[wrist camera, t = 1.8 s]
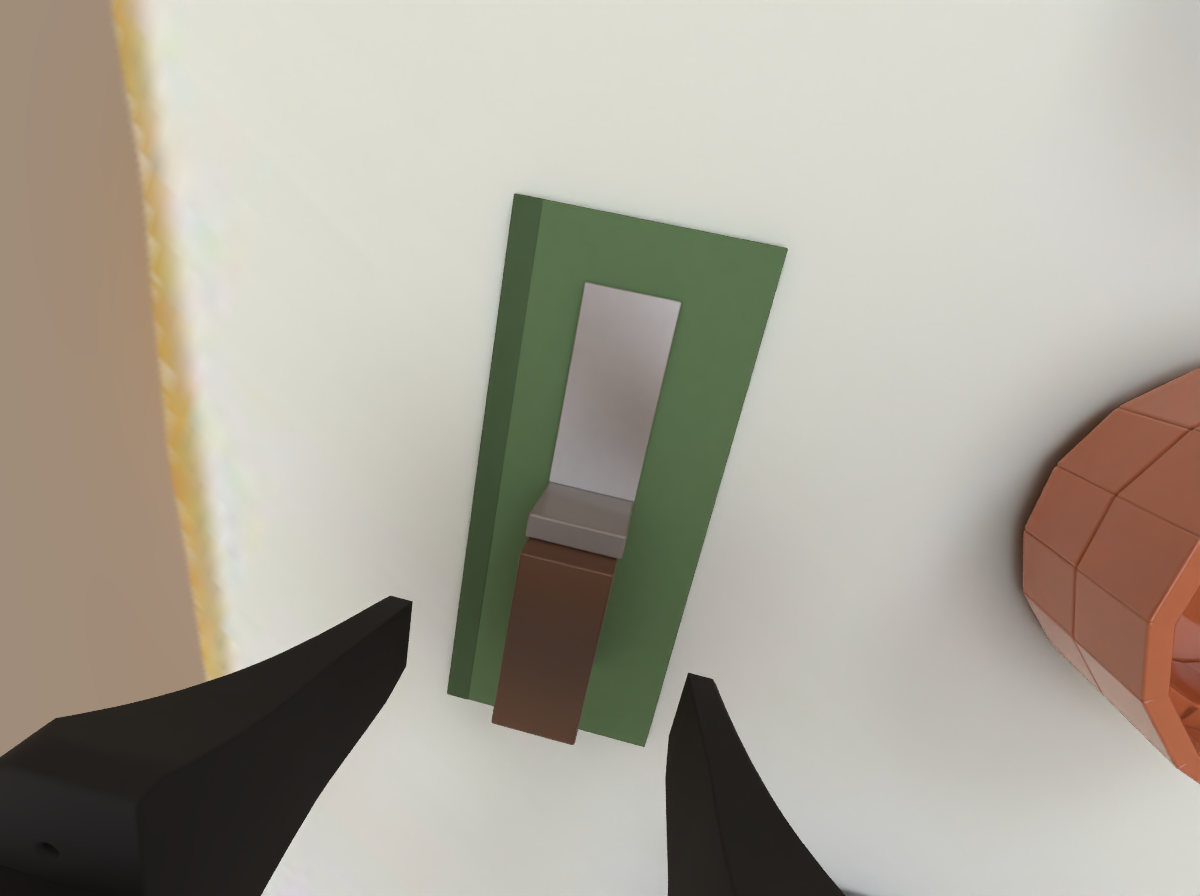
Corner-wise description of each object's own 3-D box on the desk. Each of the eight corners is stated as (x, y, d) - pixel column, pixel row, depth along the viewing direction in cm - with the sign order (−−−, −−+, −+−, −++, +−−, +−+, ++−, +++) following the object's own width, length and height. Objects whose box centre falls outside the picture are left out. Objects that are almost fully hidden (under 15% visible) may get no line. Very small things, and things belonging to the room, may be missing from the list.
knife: (595, 665, 18) (577, 747, 15) (520, 645, 19) (487, 722, 15) (681, 301, 15) (681, 308, 11) (586, 281, 15) (560, 283, 12)
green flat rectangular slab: (645, 740, 19) (644, 748, 19) (450, 687, 20) (446, 694, 20) (786, 248, 14) (788, 248, 14) (517, 194, 15) (513, 192, 14)
